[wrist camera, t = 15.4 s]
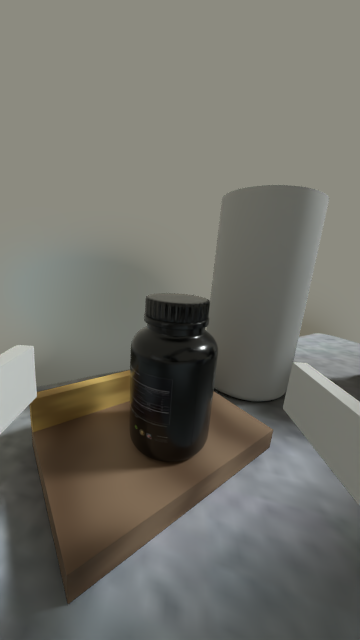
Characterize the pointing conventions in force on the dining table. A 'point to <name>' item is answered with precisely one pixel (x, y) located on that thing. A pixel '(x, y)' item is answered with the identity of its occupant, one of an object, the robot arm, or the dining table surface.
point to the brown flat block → (122, 473)
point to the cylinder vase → (262, 285)
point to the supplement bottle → (172, 378)
